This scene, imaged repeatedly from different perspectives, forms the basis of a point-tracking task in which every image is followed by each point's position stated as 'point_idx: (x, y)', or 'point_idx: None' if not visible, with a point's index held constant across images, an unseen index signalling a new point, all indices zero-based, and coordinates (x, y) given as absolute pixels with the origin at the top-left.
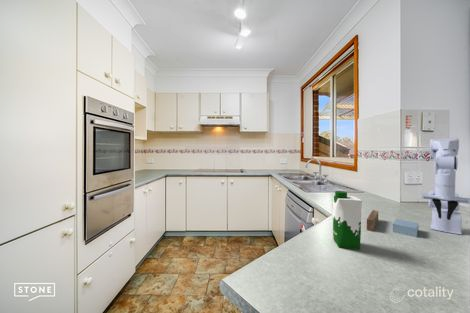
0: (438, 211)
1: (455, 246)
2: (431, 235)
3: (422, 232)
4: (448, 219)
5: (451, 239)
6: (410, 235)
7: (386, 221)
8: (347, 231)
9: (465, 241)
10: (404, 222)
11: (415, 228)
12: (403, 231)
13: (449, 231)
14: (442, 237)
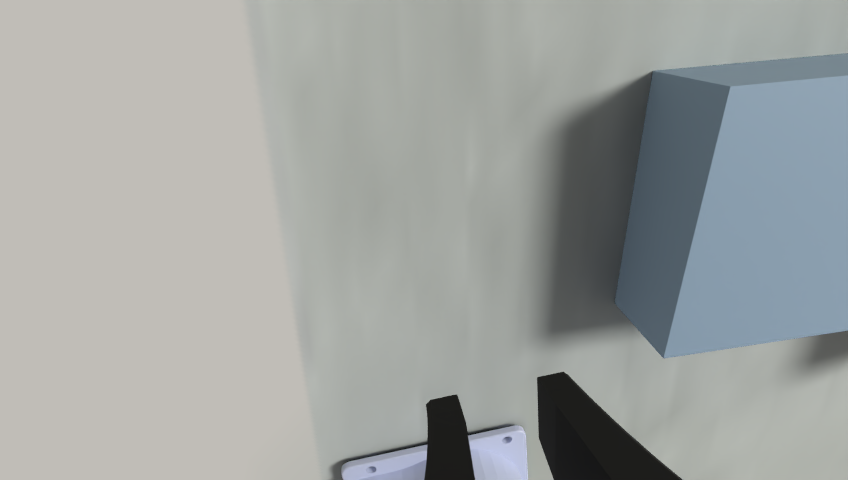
0: (659, 470)
1: (337, 79)
2: (525, 266)
3: (586, 292)
4: (448, 400)
5: (386, 290)
6: (709, 67)
7: (818, 359)
8: None
9: (297, 328)
10: (805, 256)
11: (742, 86)
12: (795, 64)
13: (413, 457)
14: (448, 285)
